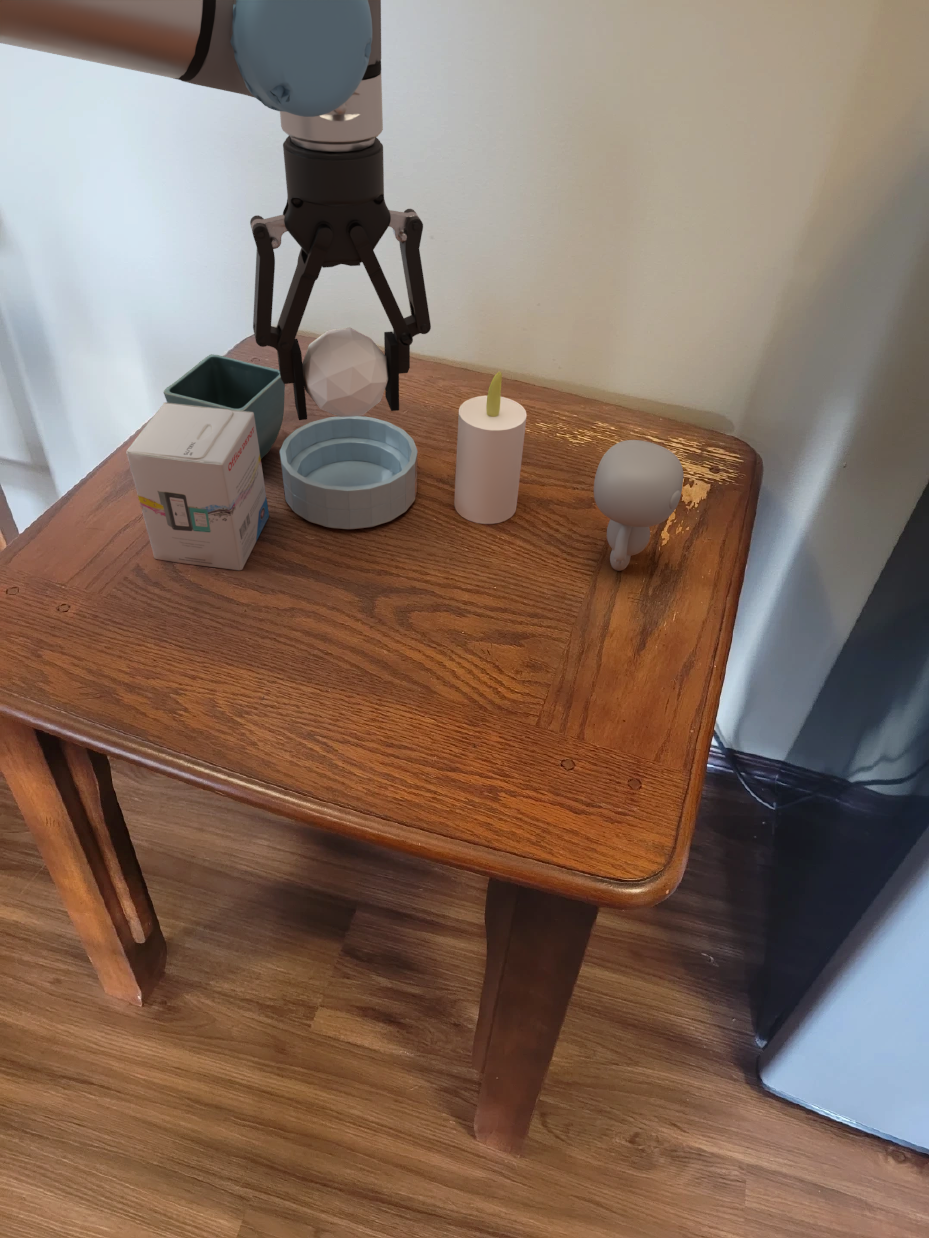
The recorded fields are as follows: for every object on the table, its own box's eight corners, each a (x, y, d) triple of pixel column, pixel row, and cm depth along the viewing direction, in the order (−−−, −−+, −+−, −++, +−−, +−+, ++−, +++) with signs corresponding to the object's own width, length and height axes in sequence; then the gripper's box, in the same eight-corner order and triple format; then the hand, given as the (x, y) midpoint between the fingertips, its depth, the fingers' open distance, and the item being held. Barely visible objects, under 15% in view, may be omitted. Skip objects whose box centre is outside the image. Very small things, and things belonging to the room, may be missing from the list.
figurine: (655, 597, 77) (685, 487, 69) (573, 579, 78) (593, 469, 70) (664, 544, 83) (693, 437, 74) (588, 528, 84) (608, 421, 75)
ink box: (187, 505, 83) (163, 398, 75) (271, 516, 83) (257, 409, 75) (151, 560, 77) (122, 450, 69) (242, 572, 77) (223, 462, 68)
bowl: (257, 493, 85) (251, 450, 82) (352, 443, 93) (350, 402, 89) (349, 551, 79) (347, 507, 76) (443, 492, 87) (444, 450, 84)
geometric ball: (328, 430, 82) (295, 349, 80) (405, 399, 81) (373, 317, 79) (315, 433, 75) (278, 344, 73) (399, 399, 74) (364, 308, 72)
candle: (497, 480, 89) (510, 345, 79) (527, 515, 85) (544, 377, 74) (443, 493, 87) (448, 356, 77) (470, 530, 83) (480, 390, 72)
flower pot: (252, 490, 86) (241, 411, 79) (177, 470, 88) (160, 391, 81) (295, 447, 92) (287, 370, 85) (223, 429, 94) (210, 352, 87)
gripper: (192, 155, 59) (237, 440, 75) (479, 148, 64) (464, 417, 79) (188, 126, 64) (230, 398, 80) (453, 121, 69) (444, 379, 84)
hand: (347, 407), depth 79 cm, fingers closed on geometric ball, 8 cm apart
